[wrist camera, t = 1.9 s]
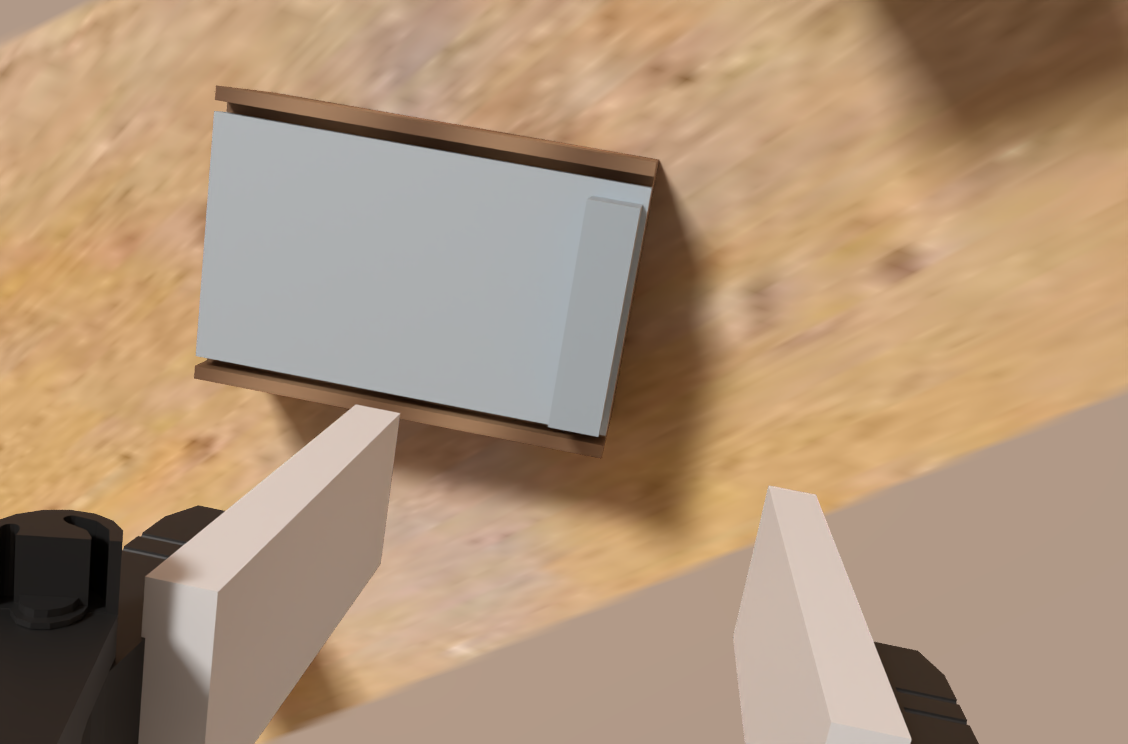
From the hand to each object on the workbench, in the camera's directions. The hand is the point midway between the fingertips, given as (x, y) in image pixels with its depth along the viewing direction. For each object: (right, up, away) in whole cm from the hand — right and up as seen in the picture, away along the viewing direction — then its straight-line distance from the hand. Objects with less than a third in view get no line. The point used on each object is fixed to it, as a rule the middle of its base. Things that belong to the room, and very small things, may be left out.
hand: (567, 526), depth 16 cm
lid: (-5, +6, +21) cm, 22 cm away
